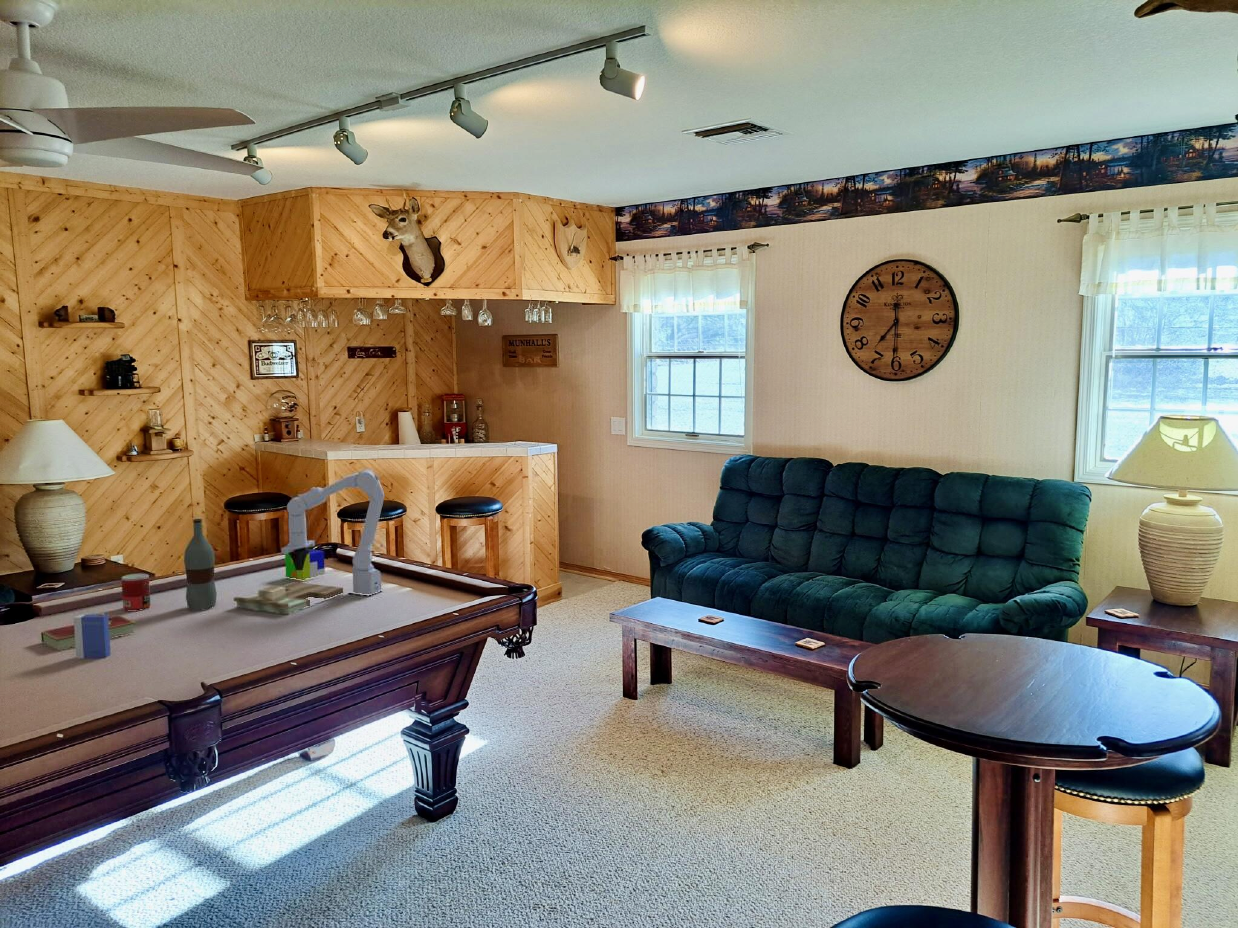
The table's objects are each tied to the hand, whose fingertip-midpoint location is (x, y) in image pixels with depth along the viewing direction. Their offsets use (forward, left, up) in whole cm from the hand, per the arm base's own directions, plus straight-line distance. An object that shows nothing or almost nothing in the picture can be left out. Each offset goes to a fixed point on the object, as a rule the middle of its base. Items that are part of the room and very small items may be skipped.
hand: (299, 569), depth 299 cm
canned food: (+39, +33, -10) cm, 52 cm away
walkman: (+8, +72, -10) cm, 73 cm away
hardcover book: (+24, +61, -10) cm, 66 cm away
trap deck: (-2, +7, -9) cm, 12 cm away
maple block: (-2, +16, -7) cm, 17 cm away
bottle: (+20, +24, -10) cm, 33 cm away
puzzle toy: (+17, -22, -10) cm, 29 cm away
